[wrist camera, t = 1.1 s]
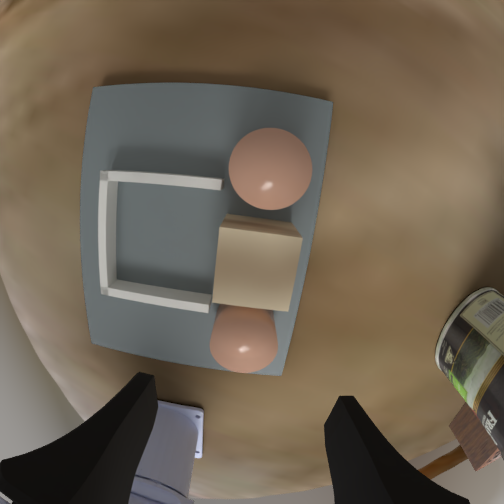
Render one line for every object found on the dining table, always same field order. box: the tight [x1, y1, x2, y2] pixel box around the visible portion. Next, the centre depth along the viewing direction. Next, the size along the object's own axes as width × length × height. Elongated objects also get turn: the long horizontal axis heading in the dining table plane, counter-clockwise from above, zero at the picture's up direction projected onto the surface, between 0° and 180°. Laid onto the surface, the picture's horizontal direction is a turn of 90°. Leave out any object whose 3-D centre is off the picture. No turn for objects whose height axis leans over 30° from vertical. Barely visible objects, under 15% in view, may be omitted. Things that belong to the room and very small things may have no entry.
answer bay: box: [98, 170, 224, 313], centre depth 17 cm, size 8×8×2 cm
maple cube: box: [212, 214, 303, 312], centre depth 16 cm, size 4×4×4 cm
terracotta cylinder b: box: [229, 128, 312, 210], centre depth 15 cm, size 4×4×4 cm
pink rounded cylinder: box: [210, 304, 278, 373], centre depth 18 cm, size 4×4×4 cm
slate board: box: [80, 83, 333, 376], centre depth 18 cm, size 20×16×1 cm
